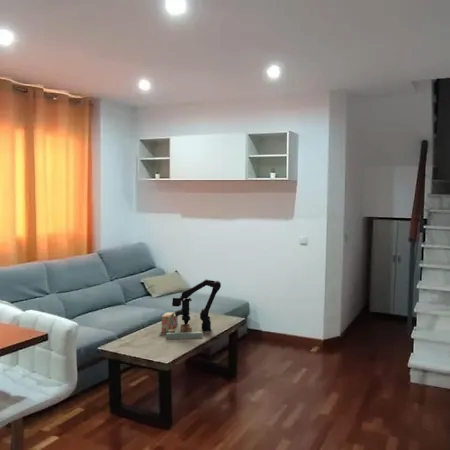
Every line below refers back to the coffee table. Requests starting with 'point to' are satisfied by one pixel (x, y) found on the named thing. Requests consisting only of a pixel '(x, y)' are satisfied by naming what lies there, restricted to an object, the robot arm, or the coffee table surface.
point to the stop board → (184, 335)
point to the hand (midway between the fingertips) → (185, 326)
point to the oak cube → (171, 331)
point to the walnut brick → (186, 328)
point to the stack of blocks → (169, 321)
